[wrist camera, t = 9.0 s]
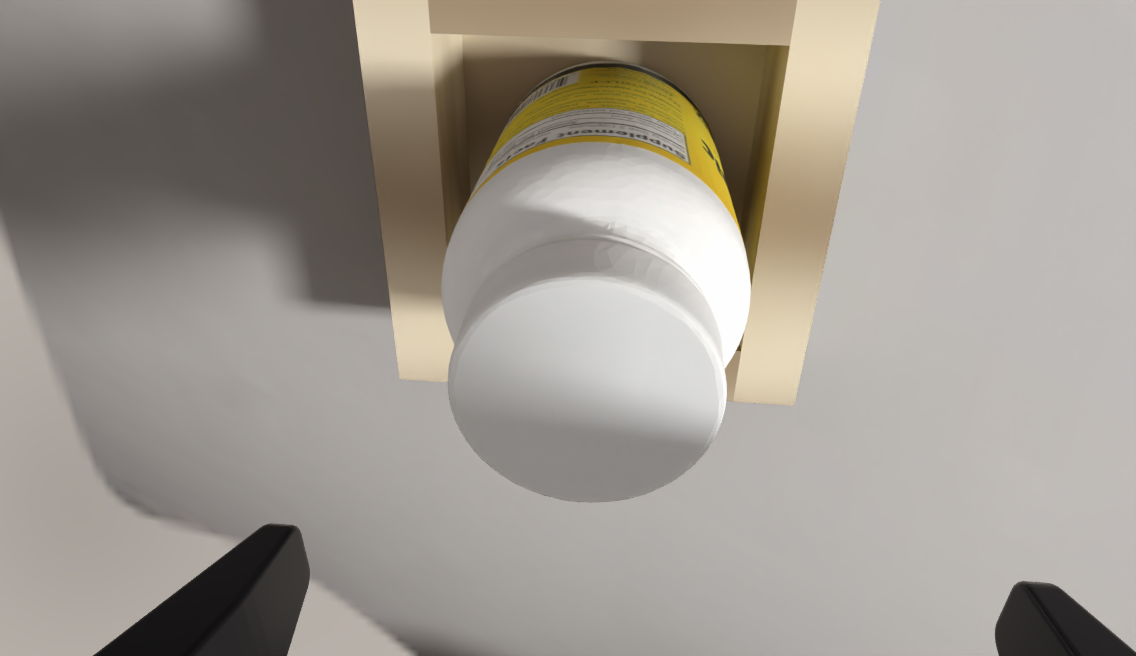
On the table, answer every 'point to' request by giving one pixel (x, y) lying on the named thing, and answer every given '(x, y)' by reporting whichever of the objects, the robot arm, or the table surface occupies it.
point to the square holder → (646, 38)
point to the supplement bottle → (596, 288)
